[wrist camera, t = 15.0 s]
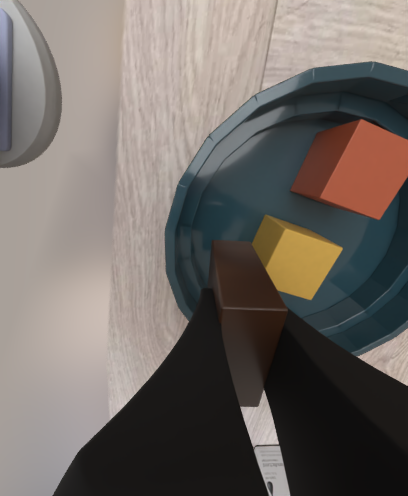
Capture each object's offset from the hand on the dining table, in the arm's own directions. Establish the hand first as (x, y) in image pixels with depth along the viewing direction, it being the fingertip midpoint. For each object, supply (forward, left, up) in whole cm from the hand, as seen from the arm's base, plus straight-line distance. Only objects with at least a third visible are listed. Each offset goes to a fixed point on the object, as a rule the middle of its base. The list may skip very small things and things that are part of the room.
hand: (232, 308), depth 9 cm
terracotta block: (+6, +8, -8) cm, 12 cm away
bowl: (+6, +3, -8) cm, 10 cm away
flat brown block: (0, 0, -2) cm, 2 cm away
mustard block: (+4, +2, -8) cm, 9 cm away
